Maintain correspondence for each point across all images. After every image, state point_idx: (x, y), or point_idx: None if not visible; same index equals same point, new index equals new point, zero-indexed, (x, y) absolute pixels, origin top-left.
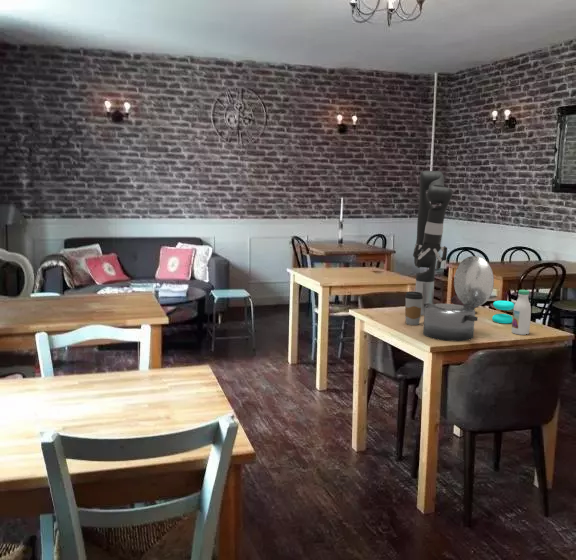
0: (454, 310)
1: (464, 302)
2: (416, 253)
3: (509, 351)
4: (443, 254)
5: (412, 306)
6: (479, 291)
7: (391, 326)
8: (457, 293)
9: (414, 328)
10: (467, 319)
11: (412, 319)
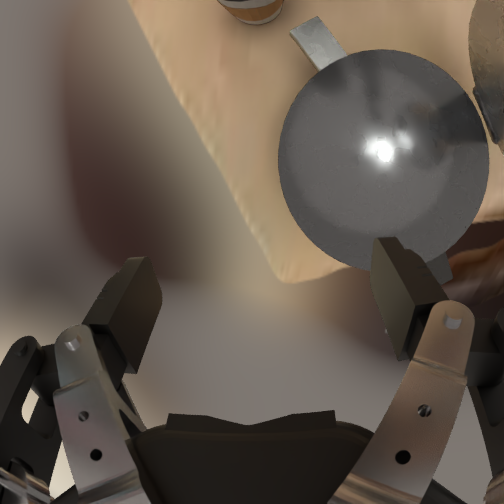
0: (407, 204)
1: (481, 89)
2: (52, 433)
3: (459, 302)
4: (496, 428)
5: (238, 8)
6: None
7: (176, 63)
8: (475, 33)
9: (258, 71)
10: None
11: (250, 21)
